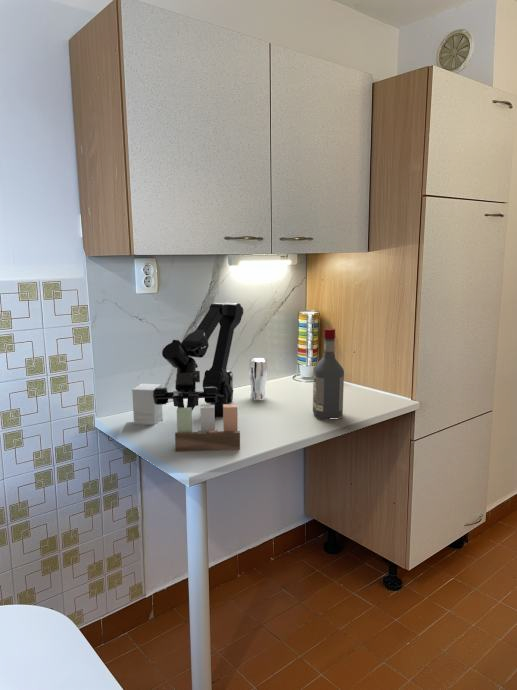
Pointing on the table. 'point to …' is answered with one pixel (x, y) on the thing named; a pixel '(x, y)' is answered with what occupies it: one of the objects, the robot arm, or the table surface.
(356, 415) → the table surface
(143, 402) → the supplement box
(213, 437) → the keypad base
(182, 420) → the sage key
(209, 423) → the light grey tall block
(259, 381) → the beer glass
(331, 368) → the liquor
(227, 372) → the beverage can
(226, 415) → the salmon brown block
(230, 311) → the robot arm
